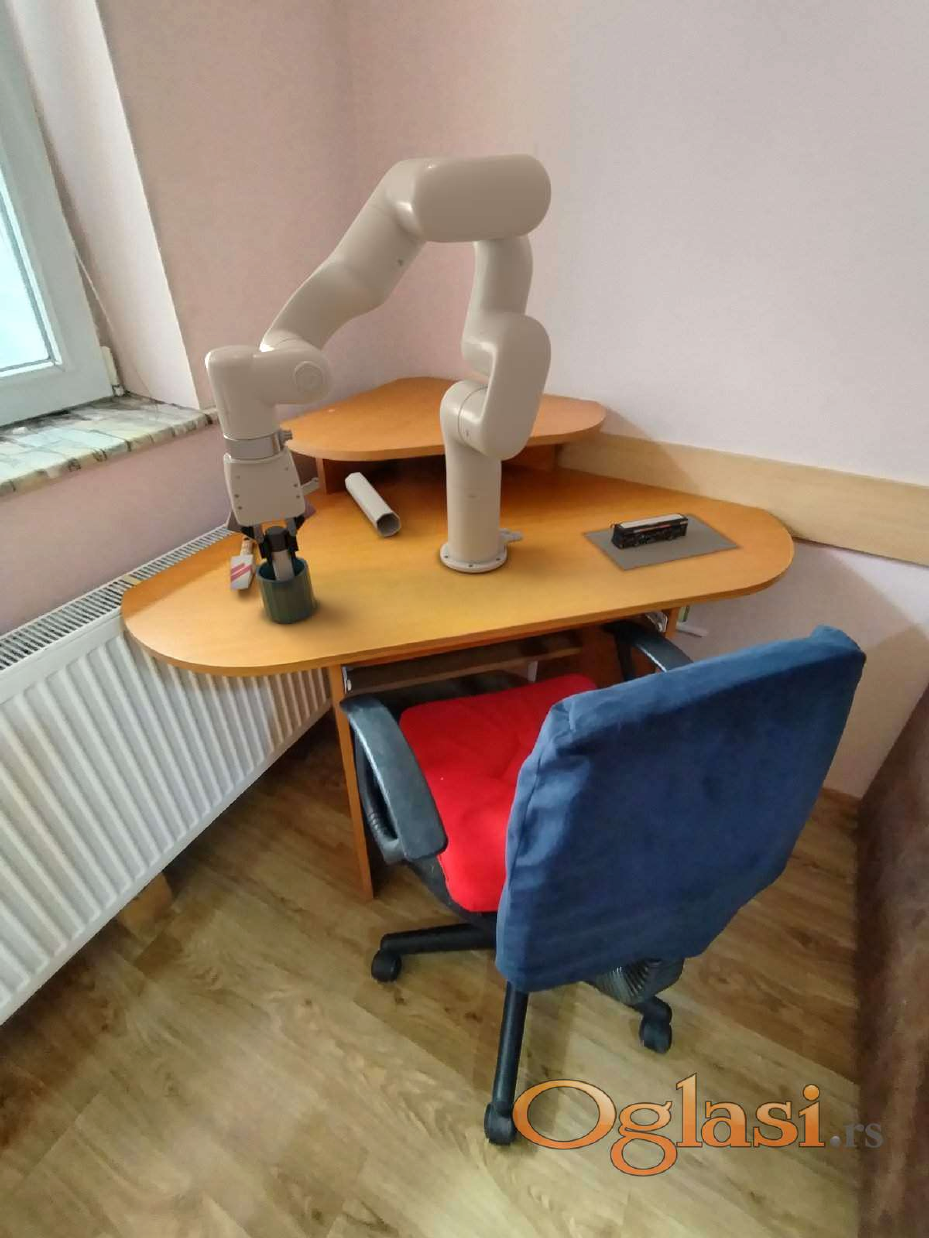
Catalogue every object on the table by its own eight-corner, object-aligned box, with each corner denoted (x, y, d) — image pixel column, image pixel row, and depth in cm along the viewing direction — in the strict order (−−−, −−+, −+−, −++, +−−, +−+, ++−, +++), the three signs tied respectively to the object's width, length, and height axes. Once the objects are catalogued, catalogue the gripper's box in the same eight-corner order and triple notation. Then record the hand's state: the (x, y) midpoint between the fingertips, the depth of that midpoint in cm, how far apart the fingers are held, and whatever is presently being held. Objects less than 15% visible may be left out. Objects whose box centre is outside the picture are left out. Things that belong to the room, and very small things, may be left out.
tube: (338, 475, 135) (371, 520, 116) (358, 464, 135) (395, 507, 117) (348, 495, 138) (381, 541, 120) (368, 484, 139) (405, 528, 120)
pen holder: (309, 591, 103) (301, 551, 99) (320, 616, 98) (312, 574, 93) (262, 602, 101) (252, 562, 96) (270, 628, 95) (260, 586, 90)
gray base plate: (586, 534, 120) (588, 515, 117) (691, 515, 126) (695, 496, 124) (624, 569, 108) (627, 549, 106) (737, 547, 115) (743, 527, 112)
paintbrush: (224, 583, 100) (237, 533, 116) (228, 596, 102) (240, 545, 118) (248, 580, 101) (257, 530, 117) (252, 594, 102) (260, 543, 118)
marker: (298, 598, 100) (282, 524, 92) (302, 607, 98) (286, 532, 90) (280, 602, 99) (262, 528, 91) (284, 612, 97) (266, 536, 89)
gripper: (307, 427, 88) (326, 537, 99) (190, 444, 83) (224, 558, 94) (319, 443, 82) (338, 557, 93) (194, 463, 77) (229, 582, 88)
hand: (280, 557), depth 93 cm, fingers closed on marker, 3 cm apart
